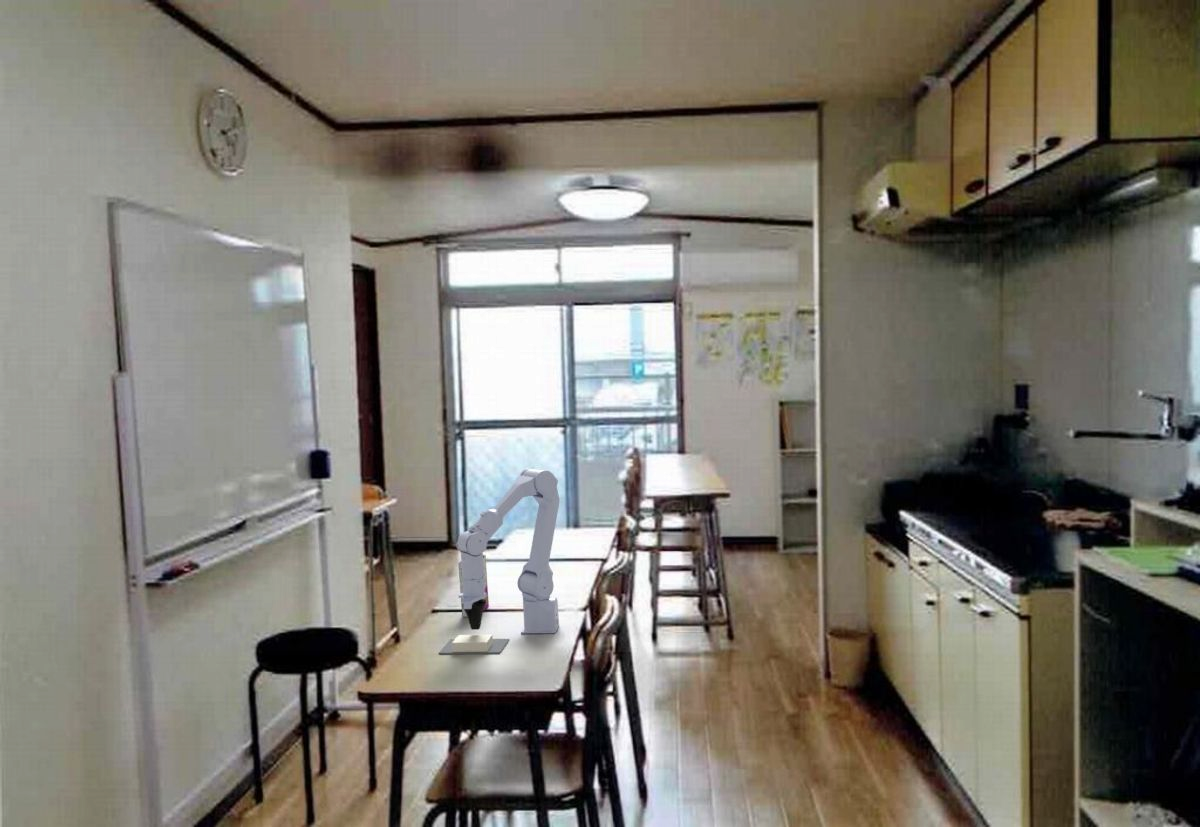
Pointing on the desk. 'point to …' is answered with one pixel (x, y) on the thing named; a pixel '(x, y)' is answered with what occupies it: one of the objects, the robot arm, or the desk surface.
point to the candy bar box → (484, 584)
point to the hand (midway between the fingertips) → (475, 628)
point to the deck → (472, 643)
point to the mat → (494, 649)
